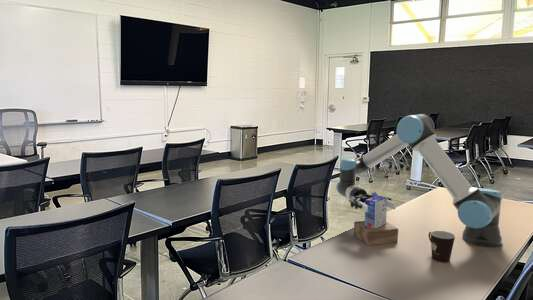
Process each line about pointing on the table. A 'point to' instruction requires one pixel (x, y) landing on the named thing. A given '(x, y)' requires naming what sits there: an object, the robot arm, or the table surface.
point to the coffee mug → (441, 245)
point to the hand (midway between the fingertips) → (381, 207)
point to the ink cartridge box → (375, 211)
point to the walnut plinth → (376, 233)
